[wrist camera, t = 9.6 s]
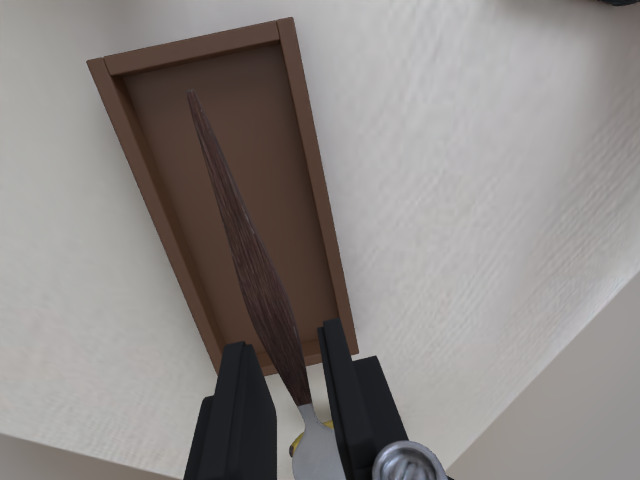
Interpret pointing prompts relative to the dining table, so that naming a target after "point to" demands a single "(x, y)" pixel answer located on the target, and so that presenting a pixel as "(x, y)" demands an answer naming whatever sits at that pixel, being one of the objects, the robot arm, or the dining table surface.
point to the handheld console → (620, 2)
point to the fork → (267, 306)
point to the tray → (247, 169)
